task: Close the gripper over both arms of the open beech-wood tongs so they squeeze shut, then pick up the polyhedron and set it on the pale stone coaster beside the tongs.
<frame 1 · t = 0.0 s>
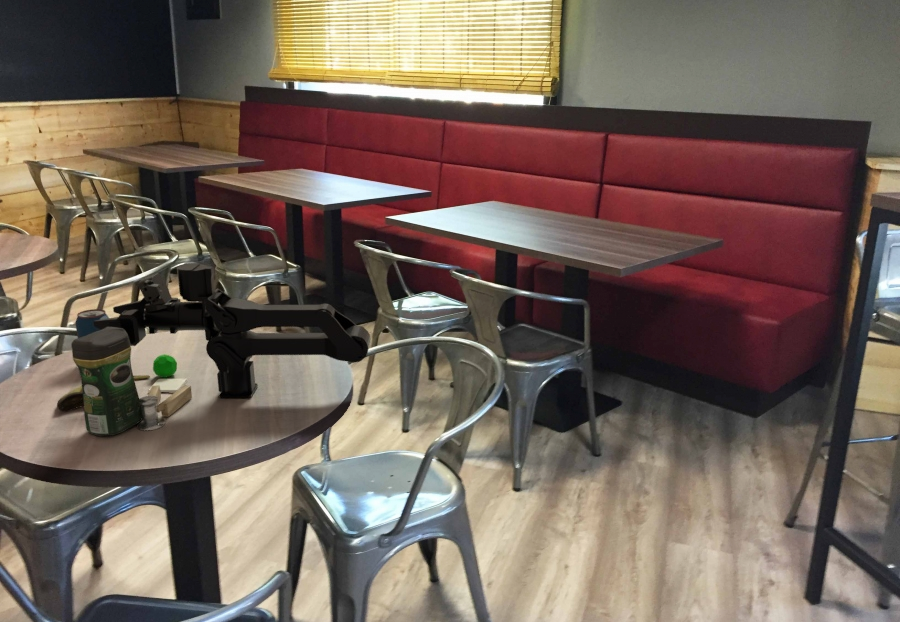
hand: (104, 316, 148), 17 cm above the table, tool horizontal, fingers open, 9 cm apart
coffee jar: (115, 427, 138), on the table, touching tongs pivot
tong arm 1: (152, 402, 144), point 2 cm above the table, hinge at 11.0°
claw: (102, 396, 153), on the table
polyhedron: (166, 377, 161), on the table
tongs pivot: (151, 424, 138), on the table
coaster: (168, 386, 156), on the table
tong arm 2: (173, 402, 144), point 2 cm above the table, hinge at -11.0°
soda can: (98, 363, 169), on the table
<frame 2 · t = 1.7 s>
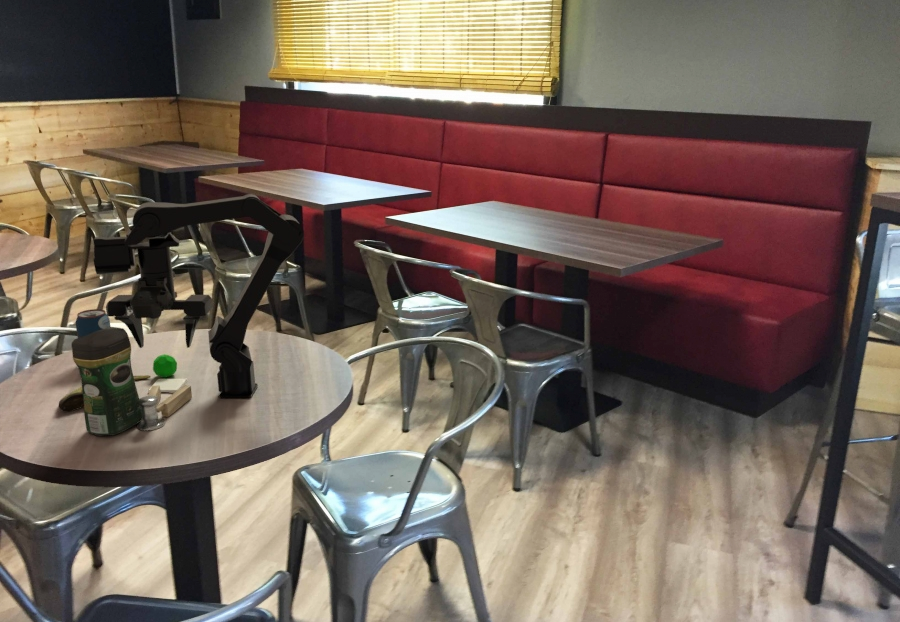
hand: (165, 347, 146), 11 cm above the table, tool pointing down, fingers open, 9 cm apart
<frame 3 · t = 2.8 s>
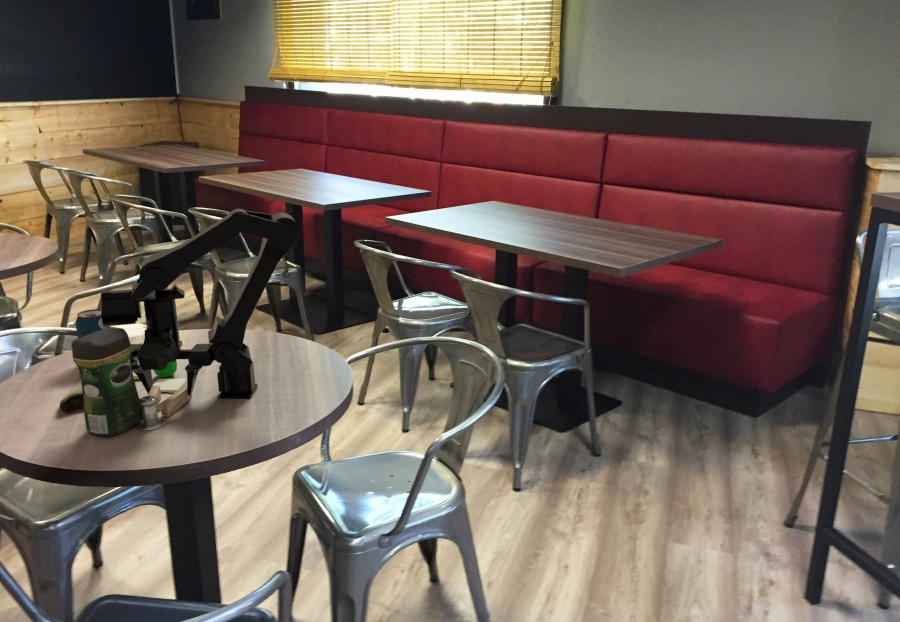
hand: (170, 394, 149), 1 cm above the table, tool pointing down, fingers open, 7 cm apart
tong arm 1: (152, 402, 144), point 2 cm above the table, hinge at 10.9°, touching gripper
tong arm 2: (173, 402, 144), point 2 cm above the table, hinge at -10.9°, touching gripper
everything else where it was.
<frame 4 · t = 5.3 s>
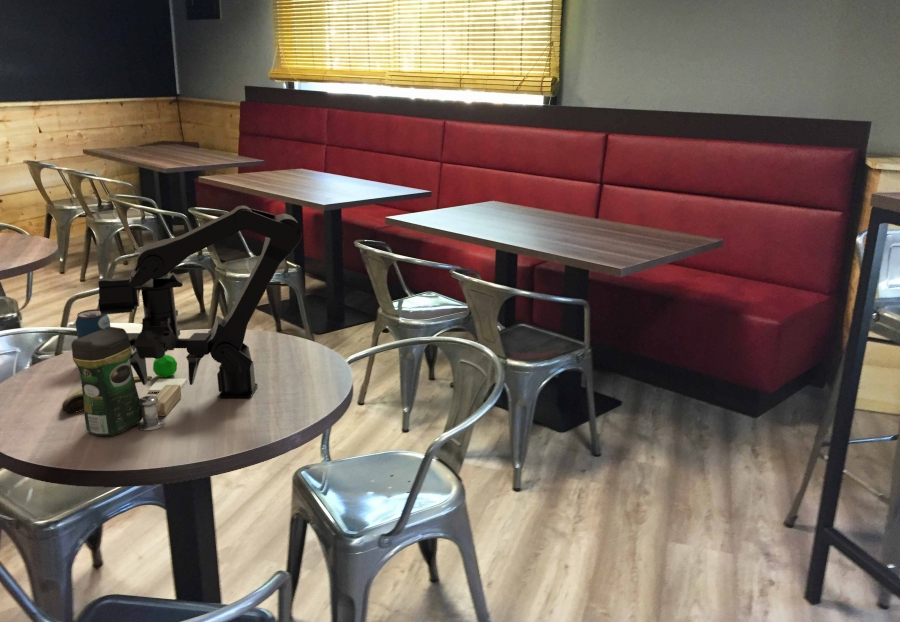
hand: (168, 384, 148), 4 cm above the table, tool pointing down, fingers open, 9 cm apart
tong arm 1: (160, 402, 145), point 2 cm above the table, hinge at -1.0°
tong arm 2: (167, 402, 145), point 2 cm above the table, hinge at -0.3°
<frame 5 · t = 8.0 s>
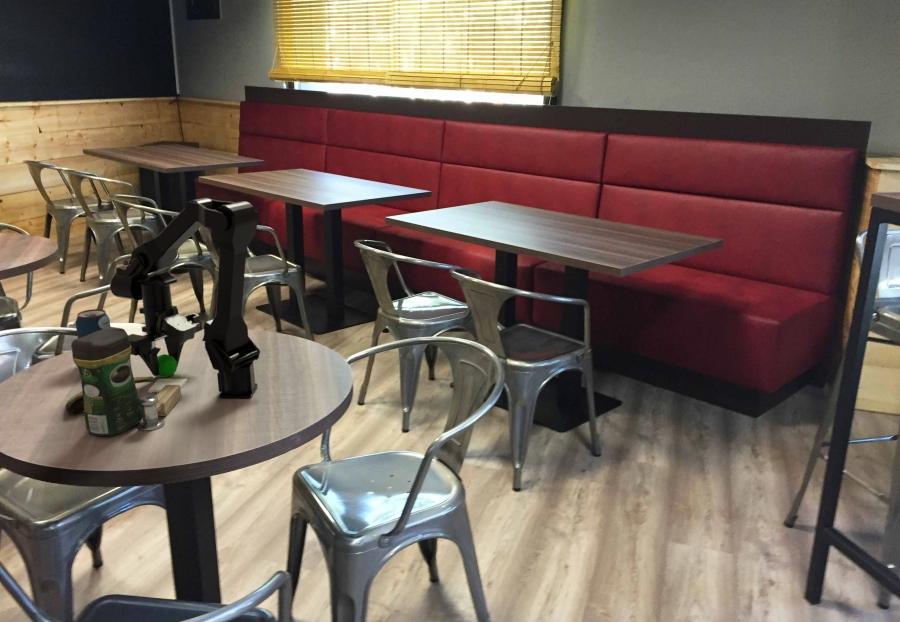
hand: (165, 371, 161), 1 cm above the table, tool pointing down, fingers closed on polyhedron, 5 cm apart
polyhedron: (166, 376, 161), on the table, touching gripper
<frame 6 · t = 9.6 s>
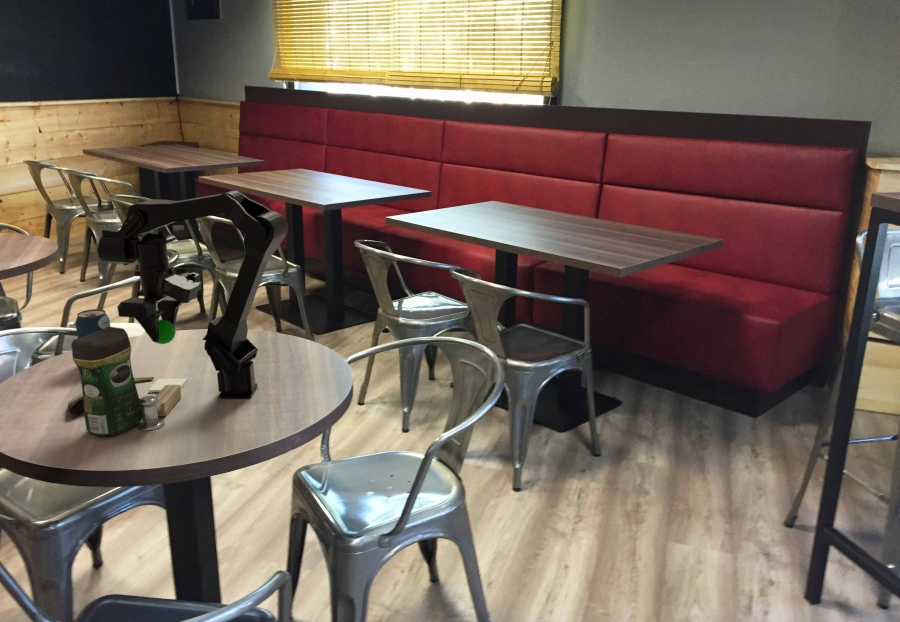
hand: (163, 337, 153), 11 cm above the table, tool pointing down, fingers closed on polyhedron, 5 cm apart
polyhedron: (163, 343, 153), point 9 cm above the table, touching gripper
when the fingers open (3 cm above the table, at t = 11.5 s): polyhedron drops 1 cm, resting on coaster.
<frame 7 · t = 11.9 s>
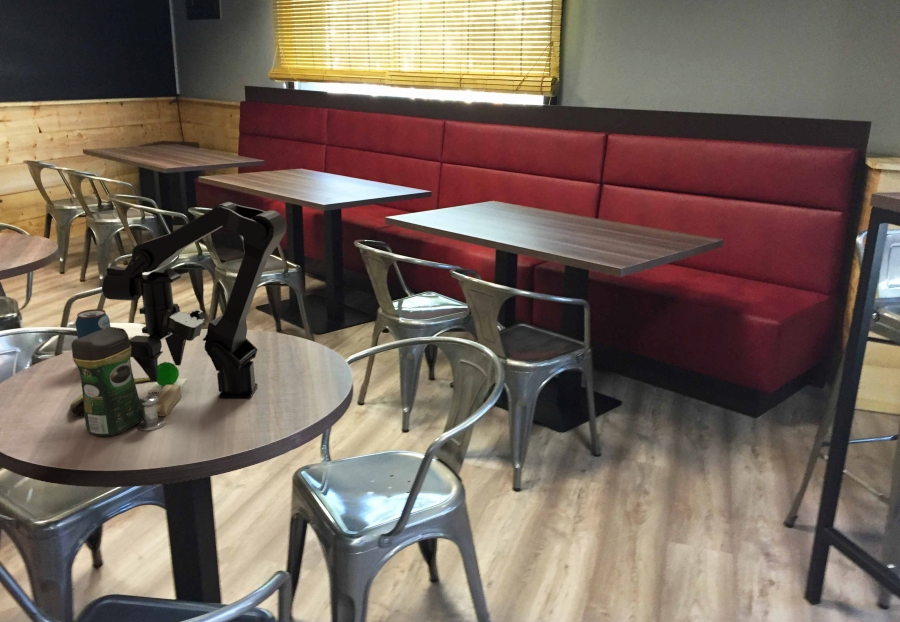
hand: (166, 373, 155), 3 cm above the table, tool pointing down, fingers open, 9 cm apart
polyhedron: (167, 385, 155), resting on coaster
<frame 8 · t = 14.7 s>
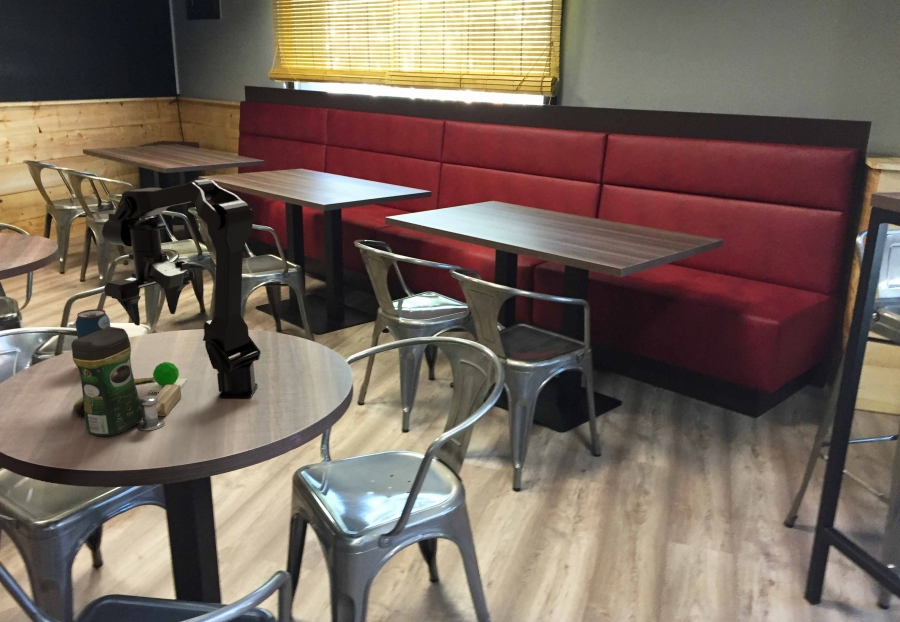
hand: (155, 319, 160), 12 cm above the table, tool pointing down, fingers open, 9 cm apart
at the end: tong arm 1 at -1° (first picture: +11°); tong arm 2 at +0° (first picture: -11°); polyhedron inside the target area on the coaster (0.3 cm from its centre), point 0.4 cm above the coaster's base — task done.
